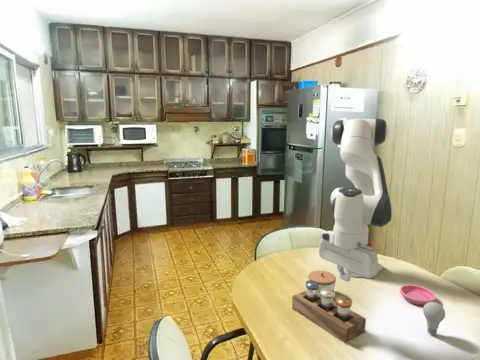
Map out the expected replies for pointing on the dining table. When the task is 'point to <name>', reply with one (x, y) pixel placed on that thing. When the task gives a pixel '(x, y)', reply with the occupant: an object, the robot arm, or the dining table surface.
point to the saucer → (417, 294)
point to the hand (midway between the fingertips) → (344, 279)
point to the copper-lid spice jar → (343, 308)
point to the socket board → (329, 318)
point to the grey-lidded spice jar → (312, 290)
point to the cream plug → (327, 298)
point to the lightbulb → (433, 316)
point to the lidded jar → (323, 279)
